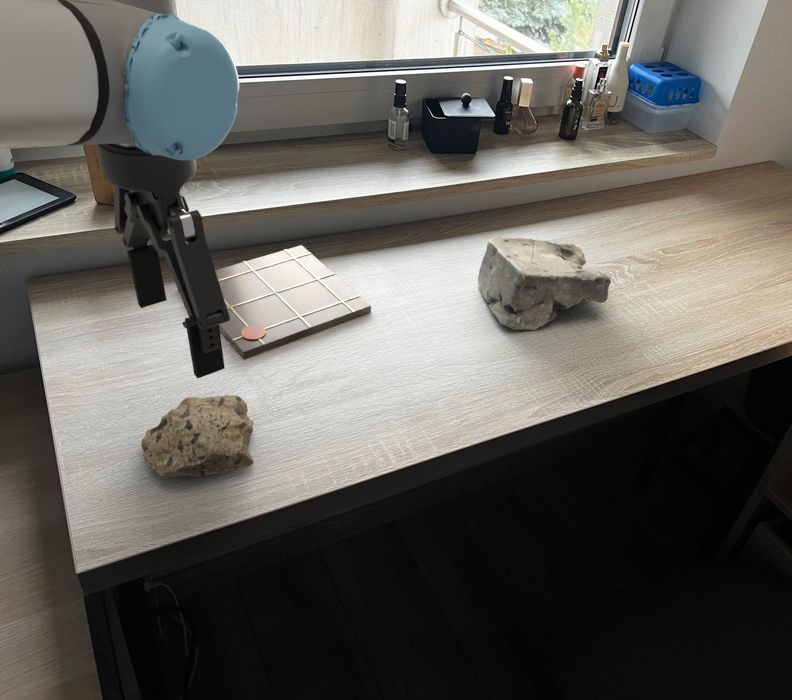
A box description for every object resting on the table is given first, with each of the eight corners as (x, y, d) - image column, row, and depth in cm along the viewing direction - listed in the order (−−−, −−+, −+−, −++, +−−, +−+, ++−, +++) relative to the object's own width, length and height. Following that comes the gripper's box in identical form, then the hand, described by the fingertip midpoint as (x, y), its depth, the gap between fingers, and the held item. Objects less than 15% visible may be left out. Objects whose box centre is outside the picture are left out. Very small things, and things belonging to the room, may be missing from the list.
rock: (150, 421, 85) (143, 393, 82) (253, 411, 88) (250, 384, 85) (141, 492, 77) (134, 464, 74) (255, 479, 80) (252, 451, 77)
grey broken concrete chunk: (609, 332, 109) (623, 270, 104) (498, 333, 104) (508, 268, 100) (570, 290, 122) (581, 234, 118) (470, 289, 118) (478, 230, 113)
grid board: (243, 359, 95) (243, 351, 94) (181, 287, 106) (179, 279, 106) (371, 312, 106) (371, 304, 105) (301, 251, 117) (301, 243, 116)
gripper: (258, 179, 55) (274, 389, 68) (132, 78, 69) (165, 268, 82) (159, 201, 51) (197, 420, 64) (46, 88, 65) (96, 287, 78)
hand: (179, 335), depth 73 cm, fingers open, 13 cm apart
